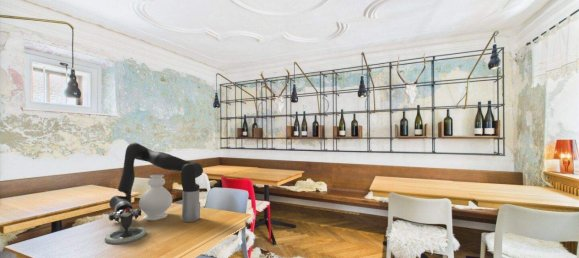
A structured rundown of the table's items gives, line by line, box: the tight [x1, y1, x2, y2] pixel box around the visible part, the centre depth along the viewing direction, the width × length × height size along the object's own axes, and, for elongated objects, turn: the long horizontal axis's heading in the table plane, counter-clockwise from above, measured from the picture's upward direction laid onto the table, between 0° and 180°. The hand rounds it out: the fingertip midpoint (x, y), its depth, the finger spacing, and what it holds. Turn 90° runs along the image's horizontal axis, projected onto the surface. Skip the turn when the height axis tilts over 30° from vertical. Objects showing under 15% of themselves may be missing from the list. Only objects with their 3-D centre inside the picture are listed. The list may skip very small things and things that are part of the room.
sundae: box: [119, 205, 135, 237], centre depth 121 cm, size 7×7×15 cm
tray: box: [104, 226, 147, 245], centre depth 120 cm, size 17×17×2 cm
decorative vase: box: [138, 173, 173, 221], centre depth 150 cm, size 18×18×25 cm
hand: (127, 218), depth 119 cm, fingers closed on sundae, 6 cm apart
